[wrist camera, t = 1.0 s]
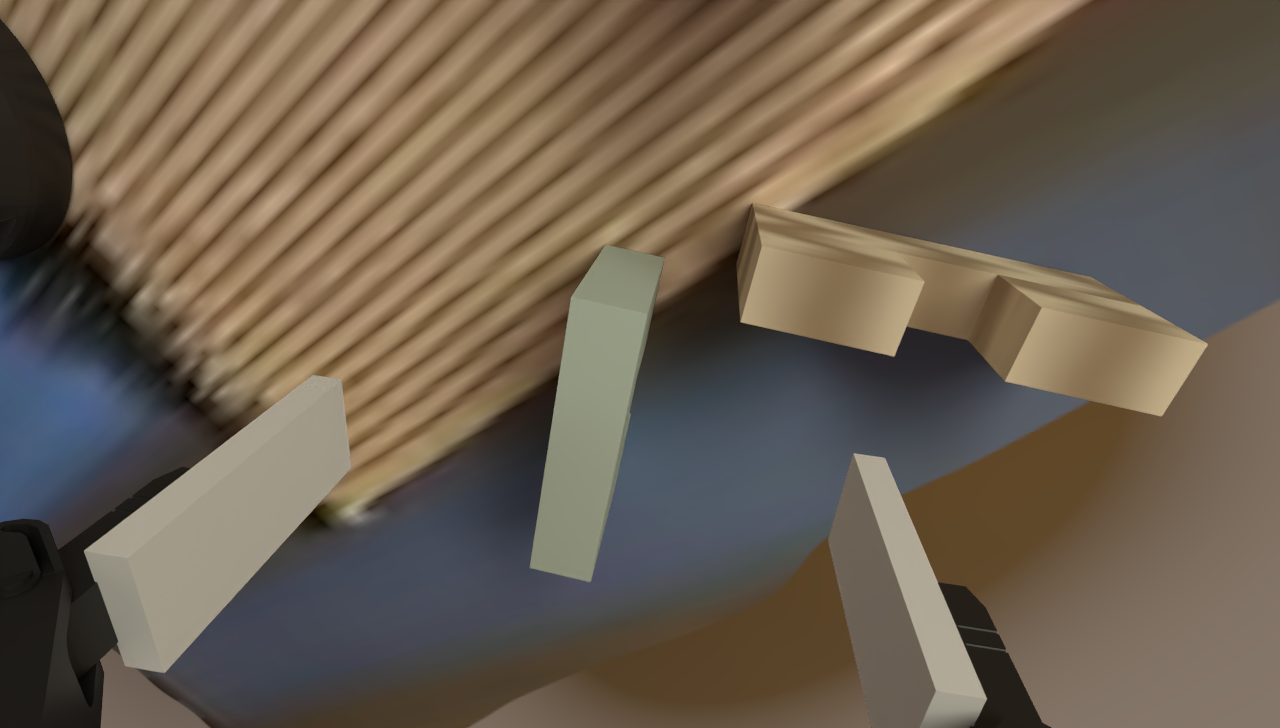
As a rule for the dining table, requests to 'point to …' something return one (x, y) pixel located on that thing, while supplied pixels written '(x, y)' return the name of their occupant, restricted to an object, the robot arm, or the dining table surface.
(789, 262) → the u-shaped wooden block
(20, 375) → the dining table surface
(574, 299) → the grey-green block
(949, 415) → the dining table surface
